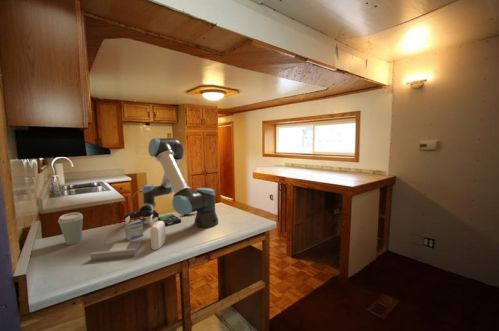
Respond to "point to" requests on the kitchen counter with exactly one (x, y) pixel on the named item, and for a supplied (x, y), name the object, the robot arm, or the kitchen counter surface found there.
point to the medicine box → (133, 229)
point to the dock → (116, 250)
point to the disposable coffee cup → (71, 227)
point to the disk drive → (169, 219)
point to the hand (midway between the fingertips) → (138, 220)
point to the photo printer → (157, 235)
